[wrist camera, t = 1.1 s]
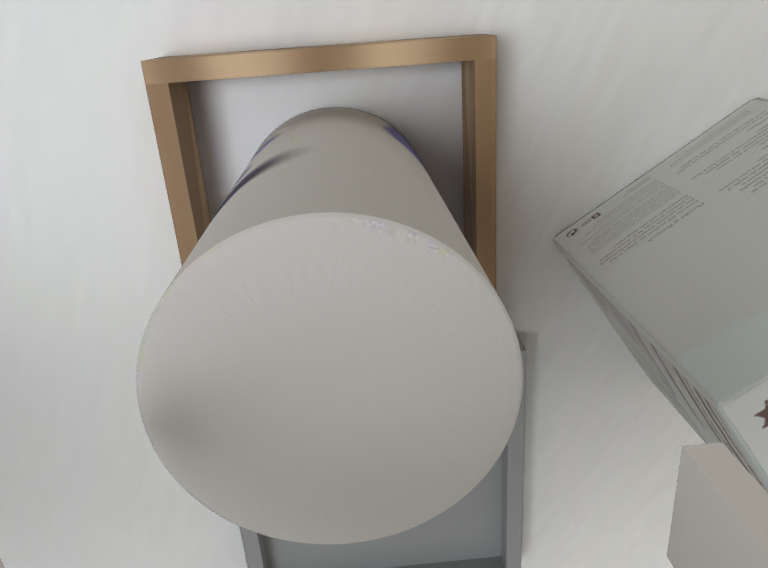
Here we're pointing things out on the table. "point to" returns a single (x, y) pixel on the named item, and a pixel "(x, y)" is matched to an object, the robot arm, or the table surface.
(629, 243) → the supplement box
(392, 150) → the container
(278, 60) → the frame
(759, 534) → the robot arm
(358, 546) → the tray
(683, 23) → the table surface
